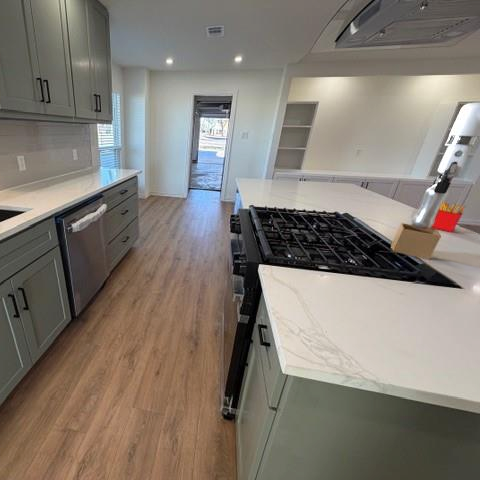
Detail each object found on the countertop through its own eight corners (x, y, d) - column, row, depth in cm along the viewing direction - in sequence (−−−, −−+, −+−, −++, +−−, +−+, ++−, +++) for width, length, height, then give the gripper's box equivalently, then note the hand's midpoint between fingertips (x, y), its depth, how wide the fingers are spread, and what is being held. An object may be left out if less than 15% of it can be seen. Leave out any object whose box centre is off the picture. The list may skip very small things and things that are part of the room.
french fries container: (430, 225, 146) (442, 201, 140) (453, 230, 139) (466, 205, 133) (428, 227, 142) (440, 203, 136) (451, 232, 135) (465, 207, 130)
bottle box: (423, 254, 109) (436, 229, 104) (427, 262, 101) (441, 236, 97) (390, 246, 115) (400, 222, 110) (391, 254, 108) (402, 228, 103)
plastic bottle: (407, 227, 104) (431, 178, 95) (410, 223, 108) (433, 176, 99) (429, 232, 100) (455, 181, 91) (431, 228, 104) (457, 179, 95)
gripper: (484, 142, 82) (456, 197, 89) (470, 142, 95) (446, 189, 102) (451, 141, 86) (427, 193, 93) (441, 141, 99) (421, 186, 106)
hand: (437, 191), depth 97 cm, fingers closed on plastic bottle, 6 cm apart
